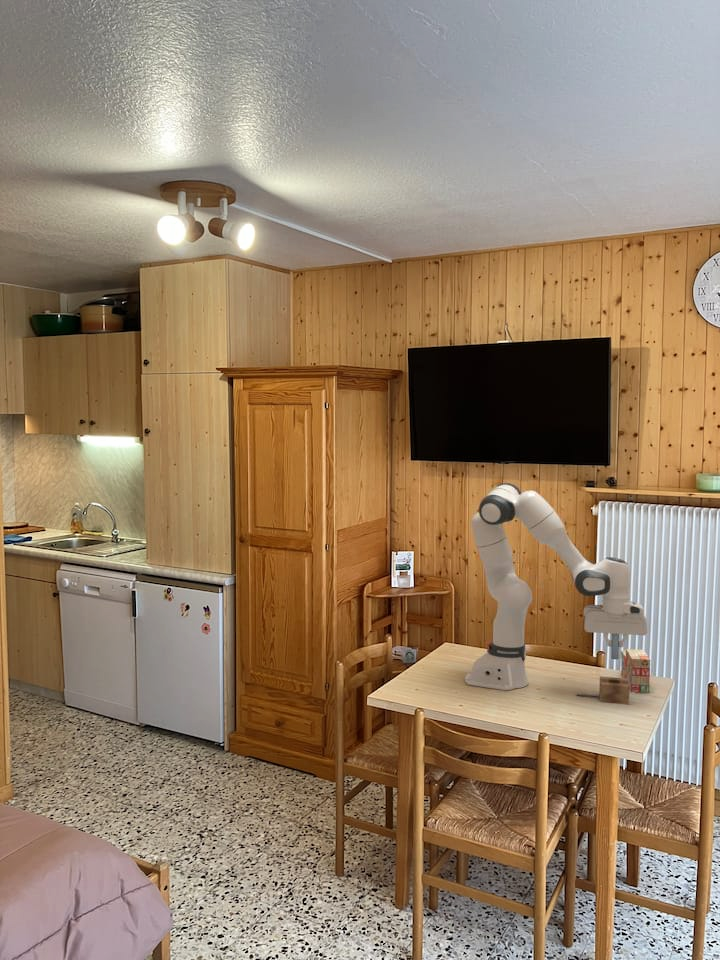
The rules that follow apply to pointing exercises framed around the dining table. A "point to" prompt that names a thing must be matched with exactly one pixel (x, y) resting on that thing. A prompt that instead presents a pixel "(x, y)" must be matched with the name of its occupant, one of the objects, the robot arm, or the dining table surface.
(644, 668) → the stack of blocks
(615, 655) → the blue-grey upright bar
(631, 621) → the robot arm
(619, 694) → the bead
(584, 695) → the lace
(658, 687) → the dining table surface
